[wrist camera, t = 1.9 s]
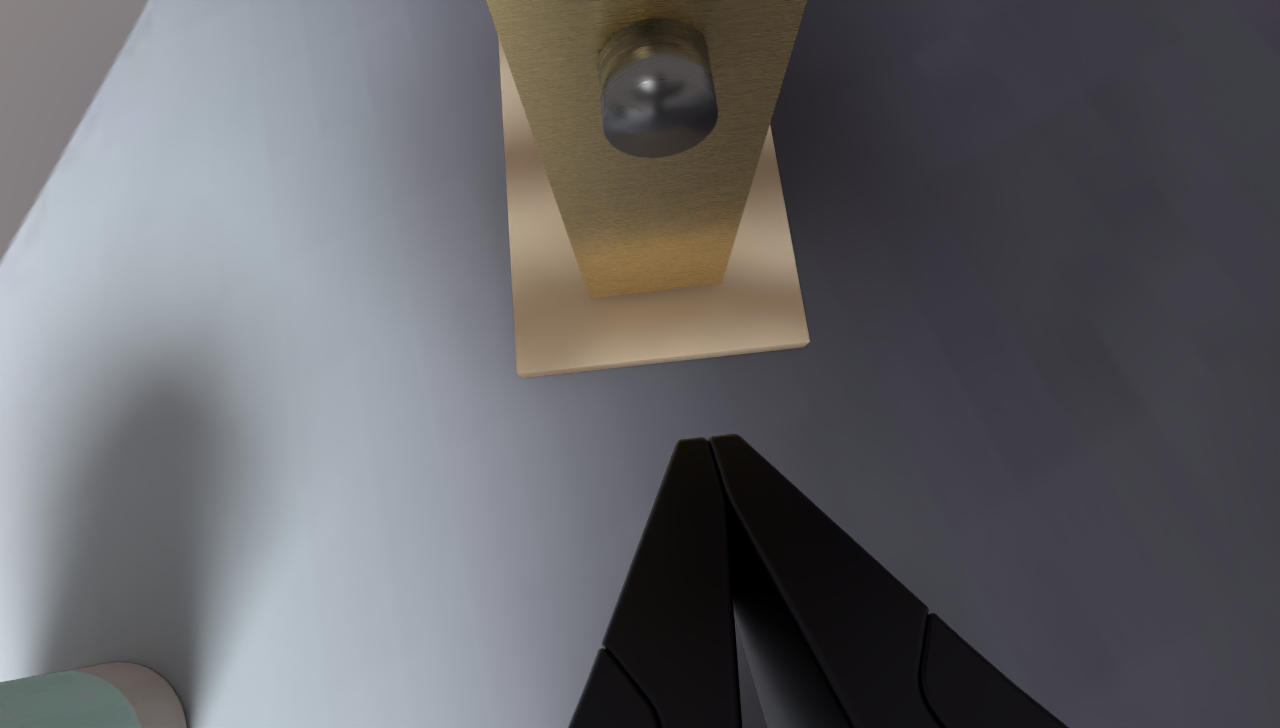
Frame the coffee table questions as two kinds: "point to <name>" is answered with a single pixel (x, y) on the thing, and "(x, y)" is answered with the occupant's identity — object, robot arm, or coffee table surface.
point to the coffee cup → (91, 699)
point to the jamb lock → (651, 321)
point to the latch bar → (649, 125)
